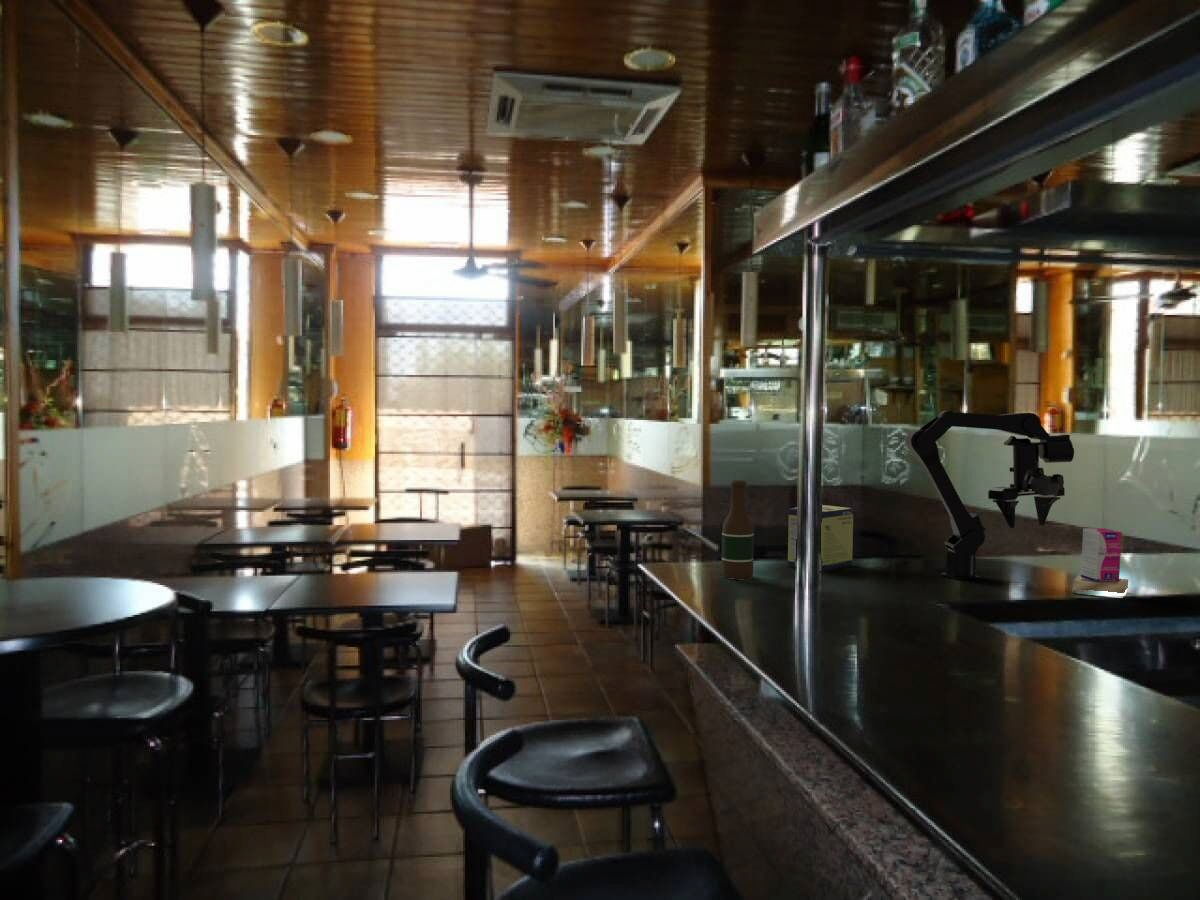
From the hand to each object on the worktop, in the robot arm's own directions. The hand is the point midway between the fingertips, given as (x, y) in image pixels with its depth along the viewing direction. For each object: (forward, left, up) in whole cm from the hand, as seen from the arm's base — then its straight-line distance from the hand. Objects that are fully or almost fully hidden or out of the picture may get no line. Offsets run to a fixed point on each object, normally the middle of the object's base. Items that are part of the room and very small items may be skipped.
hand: (1027, 526), depth 222 cm
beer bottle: (-68, +22, -13) cm, 73 cm away
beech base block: (+4, -18, -13) cm, 23 cm away
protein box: (-39, +31, -13) cm, 51 cm away
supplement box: (+4, -18, -10) cm, 21 cm away
